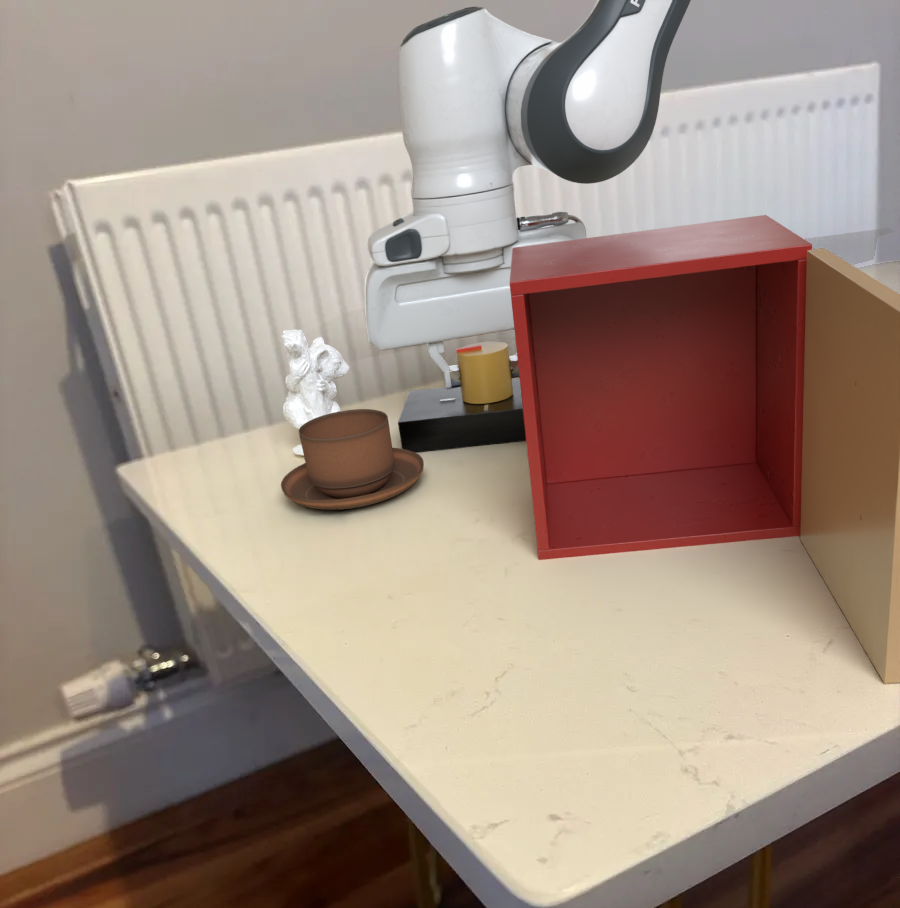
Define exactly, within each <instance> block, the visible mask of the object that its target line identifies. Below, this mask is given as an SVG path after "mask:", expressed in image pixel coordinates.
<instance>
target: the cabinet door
mask: <svg viewBox="0 0 900 908" xmlns="http://www.w3.org/2000/svg"><path fill="white" fill-rule="evenodd" d="M799 538H800V542H801V543H802V545H803V547H804V549H805V550H806V552H807V554H808V556H809V557H810V559H811V560H812V562H813V564H814V566H815V568H816V570H817V571H818V573H819V575H820V576H821V578H822V579H823V581H824V583H825V585H826V586H827V588H828V590H829V591H830V593H831V595H832V597H833V598H834V600H835V602H836V603H837V605H838V607H839V609H840V610H841V612H842V614H843V615H844V617H845V619H846V621H847V623H848V624H849V626H850V627H851V629H852V631H853V633H854V634H855V637H856V638H857V639H858V641H859V643H860V645H861V646H862V648H863V650H864V652H865V654H866V655H867V656H868V658H869V660H870V662H871V664H872V665H873V667H874V669H875V670H876V672H877V674H878V676H879V677H880V679H881V680H882V683H883V684H884V685H886V684H887V685H888V684H900V293H898V292H896V291H895V290H893V289H891V288H890V287H889V286H887V285H885V284H883V282H880V281H878V279H876V278H874V277H872V276H871V275H869V274H867V273H866V272H864V271H862V270H860V269H859V268H857V267H856V266H854V265H853V264H851V263H849V262H848V261H846V260H844V259H843V258H841V257H839V256H838V255H836V254H834V253H833V252H831V251H830V250H828V249H826V248H824V247H822V248H814V249H813V248H812V250H807V269H806V313H805V357H804V401H803V445H802V489H801V533H800V536H799Z"/></svg>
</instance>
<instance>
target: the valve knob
mask: <svg viewBox="0 0 900 908" xmlns="http://www.w3.org/2000/svg"><path fill="white" fill-rule="evenodd" d="M509 350H510V349H509V344H508V343H507V342H503V341H498V340H497V341H494V340H493V341H480V342H475V343H471V344H467V345H464V346H462V347H456V348H455V354H456V361H457V365H458V367H459V369H460V380H461V384H462V387H461V393H462V400H463V401H464V402H466V403H471V404H486V403H493V402H498V401H501V400H504V399H507V398H509V397H510V396H512V395H513V386H512V377H511V367H510V358H509V356H510V351H509Z"/></svg>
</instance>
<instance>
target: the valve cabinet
mask: <svg viewBox="0 0 900 908" xmlns="http://www.w3.org/2000/svg"><path fill="white" fill-rule="evenodd" d="M807 250H813V244H812V243H811V242H809V241H808V240H806V239H805V238H802V237H801V236H800V235H798V234H797V233H795V232H794V231H792V230H790V229H788V228H787V227H786V226H784V225H783V224H782V223H779V222H778V221H776V220H775V219H774V218H771V217H770V216H768V215H767V214H762V215H761V214H760V215H755V216H754V215H753V216H747V217H739V218H732V219H731V218H730V219H724V220H717V221H715V220H714V221H708V222H702V223H699V222H698V223H692V224H686V225H685V224H684V225H677V226H669V227H662V228H653V229H647V230H646V229H645V230H639V231H630V232H623V233H615V234H608V235H600V236H593V237H586V238H584V239H576V240H569V241H561V242H553V243H546V244H538V245H530V246H522V247H515V248H512V259H511V271H510V292H511V302H512V311H513V321H514V339H515V349H516V353H517V359H518V368H519V378H518V379H520V387H521V397H522V406H523V416H524V425H525V435H526V441H525V444H526V453H527V462H528V471H529V481H530V491H531V501H532V508H533V509H532V511H533V518H534V519H533V520H534V529H535V537H536V547H537V557H538V561H546V560H555V559H556V560H557V559H567V558H577V557H586V556H587V557H589V556H598V555H599V556H600V555H608V554H620V553H630V552H631V553H632V552H642V551H652V550H653V551H654V550H662V549H663V550H664V549H674V548H684V547H695V546H705V545H706V546H707V545H717V544H727V543H738V542H740V543H741V542H750V541H761V540H770V539H782V538H791V537H792V538H793V537H794V538H795V537H800V533H801V489H802V445H803V401H804V357H805V313H806V269H807Z"/></svg>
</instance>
